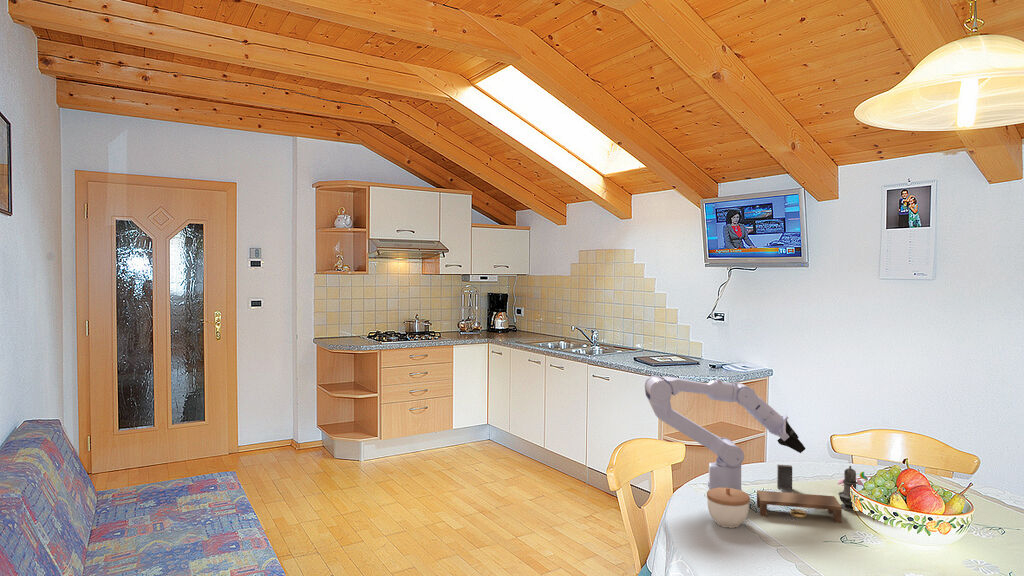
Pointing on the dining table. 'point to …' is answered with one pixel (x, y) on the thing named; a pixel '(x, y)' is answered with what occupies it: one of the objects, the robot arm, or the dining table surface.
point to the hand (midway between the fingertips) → (799, 444)
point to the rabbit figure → (856, 479)
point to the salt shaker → (848, 489)
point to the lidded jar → (728, 506)
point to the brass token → (798, 513)
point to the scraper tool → (784, 478)
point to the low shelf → (799, 502)
